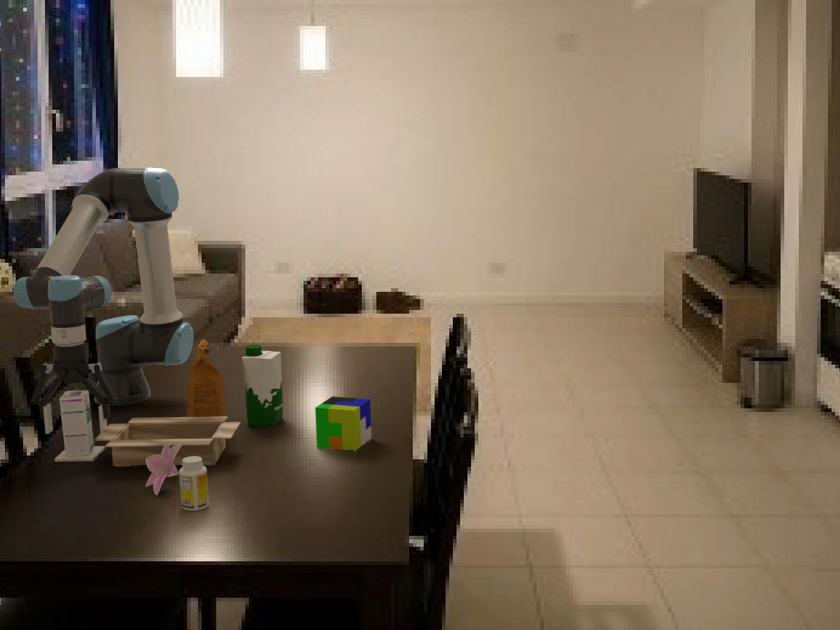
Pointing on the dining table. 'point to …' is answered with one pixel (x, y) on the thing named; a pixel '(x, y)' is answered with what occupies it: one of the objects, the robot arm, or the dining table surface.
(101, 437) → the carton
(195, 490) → the supplement bottle
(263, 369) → the milk carton
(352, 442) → the puzzle toy
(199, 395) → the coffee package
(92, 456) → the plate
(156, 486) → the lily
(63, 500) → the dining table surface
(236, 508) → the dining table surface
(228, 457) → the dining table surface
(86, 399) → the syrup box
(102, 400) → the robot arm
